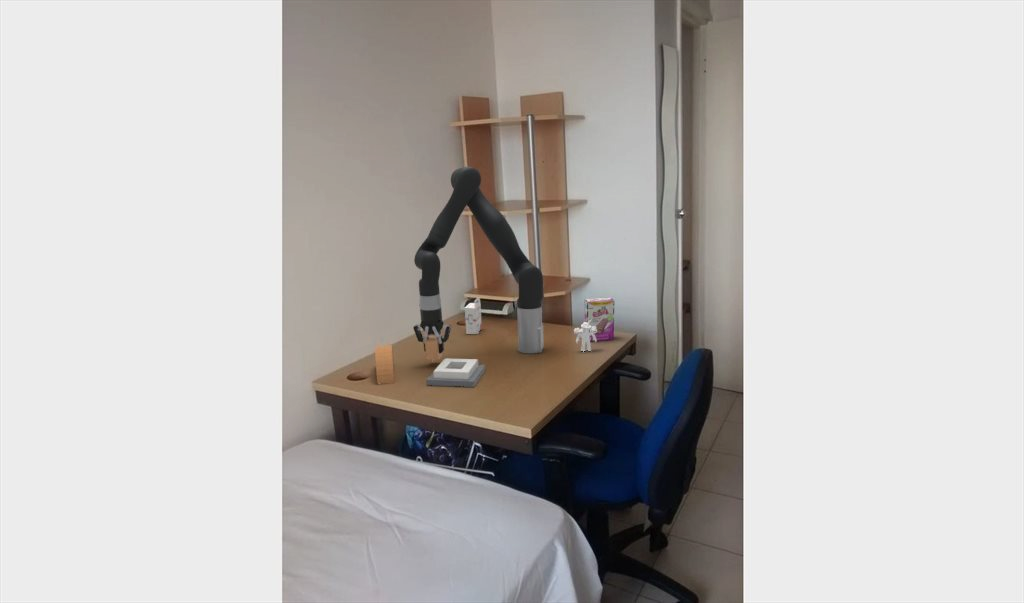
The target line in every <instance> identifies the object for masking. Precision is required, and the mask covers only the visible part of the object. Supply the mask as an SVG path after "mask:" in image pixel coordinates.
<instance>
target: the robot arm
mask: <svg viewBox="0 0 1024 603" xmlns="http://www.w3.org/2000/svg"><path fill="white" fill-rule="evenodd" d="M481 183H482V176H481V173H480V171H479V170H478V169H477V168H475V167H473V166H462V167H459V168H457V169H455V170H454V171H453V172H452V173H451V176H450V184H451V187H452V189H453V191H452V193H451V194H450V198H449V199H448V201H447V203H446V204H445V206H444V208H442V210H441V211H440V213H439V214H438V216H437V218H436V219H435V220H434V223H433V225H432V227H431V228H430V230H429V233H428V235H427V237H426V238H425V239H424V241H423V242H422V243H421V245H420V246H419V248H418V249H417V250H416V252H415V254H414V259H413V262H414V265H415V267H417V269H419V270H421V278H420V279H419V282H418V290H419V299H418V300H419V305H418V306H419V313H420V323H418V324H415V325H414V326H413V327H412V328H413V329H412V330H413V331H414V333H415V334H414V335H415V337H416V338H417V341H418V342H420V343H423V351H424V352H425V353H426V349H425V340H427V339H428V338H429V337H430V336H436V338H437V339H438V342H439V353H442V352H443V353H444V351H445V344H444V343H447V342H448V341H449V337H450V333H451V329H452V325H451V324H445V323H444V322H443V313H442V312H443V311H442V300H441V295H440V284H439V283H440V282H439V280H440V275H441V260H440V257H439V255H438V253H439V251H440V250H442V249H443V248H445V247H446V245H447V244H448V241H449V240H450V238H451V235H452V233H453V231H454V230H455V227H456V225H457V223H458V222H459V219H460V217H461V215H462V214H463V211H464V210H465V209H466V207H468V209H469V210H470V212H471V214H472V216H473V217H474V219H475V220H476V222H477V224H478V226H479V227H480V228H481V230H482V231H483V233H484V235H485V236H486V238H487V239H488V241H489V242H490V244H491V245H492V246H493V248H494V249H495V251H497V253H498V254H499V255H500V257H502V259H503V260H504V262H505V263H506V265H507V267H508V268H509V270H510V272H511V274H512V277H513V278H514V281H515V282H516V283H517V285H518V298H517V299H516V310H517V312H516V314H517V342H518V343H517V346H518V352H520V353H523V354H537V353H539V354H540V353H542V352H543V350H544V324H543V319H542V318H543V313H542V312H543V310H542V309H543V308H542V304H543V302H542V301H543V300H544V299H543V298H544V276H543V273H542V270H541V269H540V268H539V267H537V266H536V265H534V264H533V263H532V262H531V261H530V259H528V257H527V256H526V255H525V253H524V252H523V250H522V249H521V247H520V245H519V242H518V240H517V237H516V234H515V233H514V231H513V229H512V227H511V225H510V224H509V222H508V220H507V219H506V218H505V216H504V215H503V214H502V212H501V211H500V210H499V209H498V208H496V206H495V205H493V204H492V202H490V201H489V199H487V197H486V196H485V195H484V193H483V191H482V190H481V188H480V186H481ZM442 329H443V331H444V335H443V333H442ZM421 330H423V332H424V333H423V334H422V331H421Z"/></svg>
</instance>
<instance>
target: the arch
mask: <svg viewBox="0 0 1024 603" xmlns="http://www.w3.org/2000/svg"><path fill="white" fill-rule="evenodd" d="M374 352H375V370H376V371H375V372H376V384H377V383H388V384H395V375H394V373H395V372H394V364H395V362H394V352H393V344H388V345H376V346H375V350H374Z"/></svg>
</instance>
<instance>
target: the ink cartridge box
mask: <svg viewBox="0 0 1024 603" xmlns="http://www.w3.org/2000/svg"><path fill="white" fill-rule="evenodd" d="M481 307H482V306H481V297H480V296H478V297H477V298H476V299H475V300H474V302H469V303H468V304H467V305H466V306H465V307H464V316H465V332H466V334H477V335H478V334H479V333H480V332H481V331H482V330H483V328H482V327H483V326H482V308H481ZM480 330H481V331H480ZM479 331H480V332H479Z"/></svg>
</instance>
